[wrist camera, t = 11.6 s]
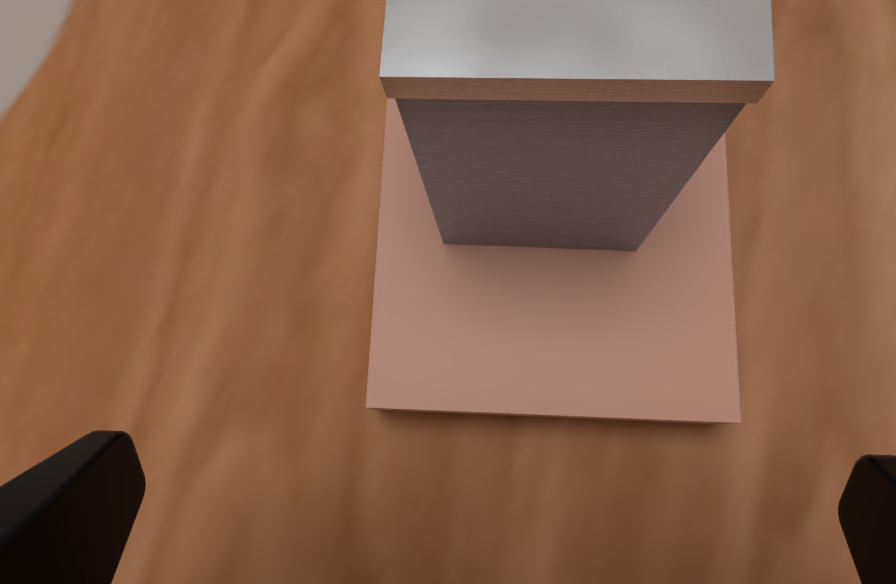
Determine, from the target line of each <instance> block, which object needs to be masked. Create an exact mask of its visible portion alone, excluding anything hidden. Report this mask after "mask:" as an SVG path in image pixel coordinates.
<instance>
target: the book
mask: <svg viewBox="0 0 896 584" xmlns="http://www.w3.org/2000/svg"><path fill="white" fill-rule="evenodd" d="M366 408H371V409H376V410H387V411H412V412H436V413H460V414H484V415H508V416H532V417H556V418H580V419H604V420H628V421H652V422H676V423H700V424H727V423H741V415H740V397H739V379H738V361H737V342H736V324H735V306H734V288H733V270H732V252H731V234H730V216H729V198H728V180H727V162H726V144H725V133H724V134H723V135H722V137H721V138H720V139H719V141H718V142H717V143H716V145H715V146H714V147H713V149H712V150H711V151H710V153H709V154H708V155H707V157H706V158H705V159H704V161H703V162H702V163H701V165H700V166H699V167H698V169H697V170H696V171H695V173H694V174H693V175H692V177H691V178H690V179H689V181H688V182H687V184H686V185H685V186H684V188H683V189H682V190H681V192H680V193H679V194H678V196H677V197H676V198H675V200H674V201H673V202H672V204H671V205H670V206H669V208H668V209H667V210H666V212H665V213H664V214H663V216H662V217H661V218H660V220H659V221H658V222H657V224H656V225H655V226H654V228H653V229H652V231H651V232H650V233H649V235H648V236H647V237H646V239H645V240H644V241H643V243H642V244H641V245H640V247H639V248H638V249H637V251H626V250H598V249H570V248H543V247H515V246H488V245H460V244H443V241H442V238H441V235H440V232H439V229H438V226H437V223H436V220H435V217H434V214H433V211H432V208H431V205H430V202H429V199H428V196H427V193H426V190H425V187H424V184H423V181H422V178H421V175H420V172H419V169H418V166H417V163H416V160H415V157H414V154H413V151H412V148H411V145H410V142H409V139H408V136H407V133H406V130H405V127H404V124H403V121H402V118H401V115H400V112H399V109H398V106H397V103H396V100H395V98H387V111H386V126H385V140H384V154H383V169H382V183H381V198H380V212H379V226H378V241H377V255H376V270H375V284H374V298H373V313H372V327H371V341H370V356H369V370H368V385H367V399H366Z"/></svg>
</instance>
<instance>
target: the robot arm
mask: <svg viewBox="0 0 896 584" xmlns="http://www.w3.org/2000/svg"><path fill="white" fill-rule="evenodd" d="M145 486H146V483H145V475H144V472H143V469H142V467H141V464H140V461H139V458H138V455H137V452H136V449H135V446H134V443H133V440H132V438H131V436H130V435H129V434H128V433H126V432H123V431H103V430H99V431H93V432H91V433H89V434H87V435H85V436H83V437H82V438H80V439H78V440H77V441H75V442H73V443H72V444H70V445H68V446H67V447H65V448H63V449H62V450H60V451H58V452H57V453H55V454H53V455H52V456H50V457H48V458H47V459H45V460H43V461H42V462H40V463H38V464H37V465H35V466H33V467H32V468H30V469H28V470H27V471H25V472H23V473H22V474H20V475H18V476H17V477H15V478H13V479H12V480H10V481H8V482H7V483H5V484H3V485H2V486H0V584H111V583H112V580H113V577H114V575H115V572H116V569H117V567H118V564H119V561H120V559H121V556H122V553H123V551H124V548H125V545H126V543H127V540H128V537H129V535H130V532H131V529H132V527H133V524H134V521H135V519H136V516H137V513H138V511H139V508H140V505H141V503H142V500H143V497H144V493H145ZM838 515H839V521H840V524H841V527H842V530H843V533H844V536H845V539H846V541H847V544H848V547H849V550H850V553H851V555H852V558H853V561H854V564H855V567H856V569H857V572H858V575H859V578H860V581H861V584H896V456H894V455H863V456H861V457H860V458H859V459H857V461H856V462H855V464H854V467H853V469H852V472H851V474H850V476H849V479H848V481H847V484H846V486H845V489H844V491H843V493H842V496H841V498H840V501H839V506H838Z"/></svg>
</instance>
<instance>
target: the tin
mask: <svg viewBox="0 0 896 584" xmlns="http://www.w3.org/2000/svg"><path fill="white" fill-rule="evenodd" d="M379 77H380V80H381V83H382V85H383V88H384V91H385V94H386V97H387V98H395V100H396V103H397V106H398V109H399V112H400V115H401V118H402V121H403V124H404V127H405V130H406V133H407V136H408V139H409V142H410V145H411V148H412V151H413V154H414V157H415V160H416V163H417V166H418V169H419V172H420V175H421V178H422V181H423V184H424V187H425V190H426V193H427V196H428V199H429V202H430V205H431V208H432V211H433V214H434V217H435V220H436V223H437V226H438V229H439V232H440V235H441V238H442V241H443V244H460V245H488V246H515V247H543V248H570V249H598V250H626V251H637V249H638V248H639V247H640V245H641V244H642V243H643V241H644V240H645V239H646V237H647V236H648V235H649V233H650V232H651V231H652V229H653V228H654V226H655V225H656V224H657V222H658V221H659V220H660V218H661V217H662V216H663V214H664V213H665V212H666V210H667V209H668V208H669V206H670V205H671V204H672V202H673V201H674V200H675V198H676V197H677V196H678V194H679V193H680V192H681V190H682V189H683V188H684V186H685V185H686V184H687V182H688V181H689V179H690V178H691V177H692V175H693V174H694V173H695V171H696V170H697V169H698V167H699V166H700V165H701V163H702V162H703V161H704V159H705V158H706V157H707V155H708V154H709V153H710V151H711V150H712V149H713V147H714V146H715V145H716V143H717V142H718V141H719V139H720V138H721V137H722V135H723V134H724V133H725V131H726V130H727V128H728V127H729V126H730V124H731V123H732V122H733V120H734V119H735V118H736V116H737V115H738V114H739V112H740V111H741V110H742V108H743V107H744V106H745V104H746V103H758V101H759V100H760V99H761V97H762V96H763V95H764V94H765V92H766V91H767V90H768V88H769V87H770V86H771V85H772V83H773V82H774V81H775V80H774V59H773V37H772V16H771V0H387V1H386V12H385V23H384V33H383V44H382V54H381V65H380V76H379Z"/></svg>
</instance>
